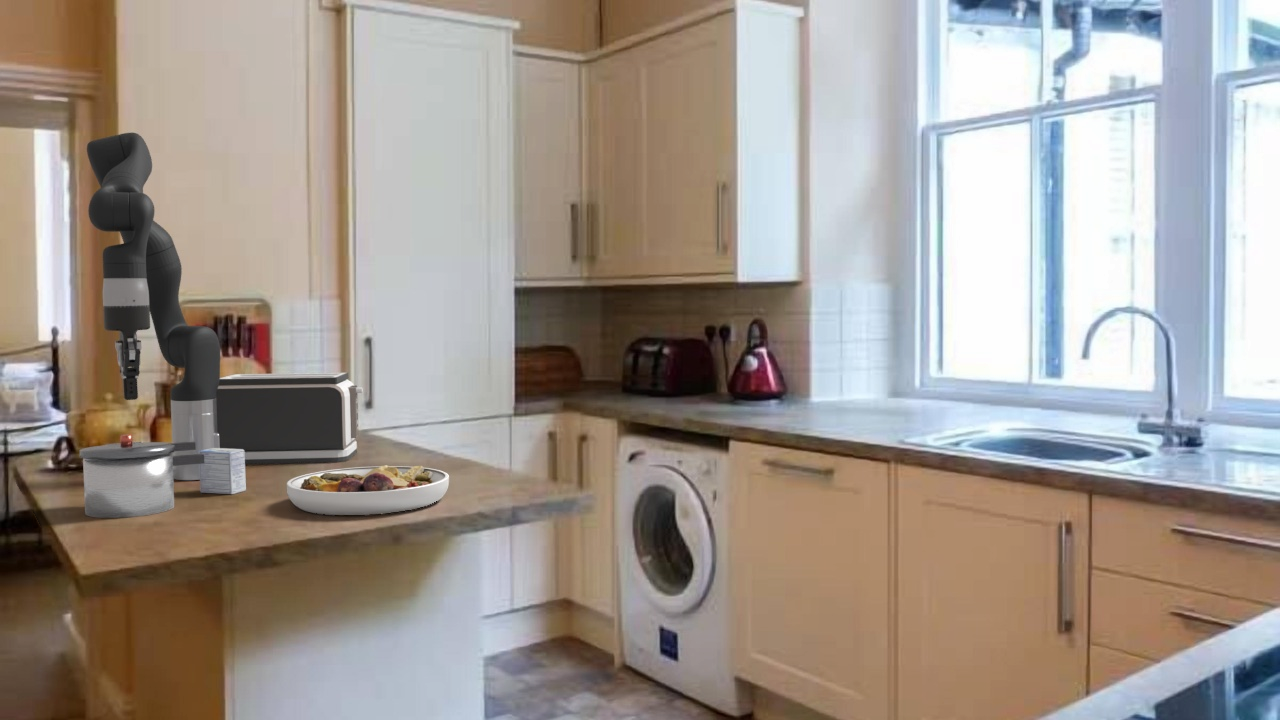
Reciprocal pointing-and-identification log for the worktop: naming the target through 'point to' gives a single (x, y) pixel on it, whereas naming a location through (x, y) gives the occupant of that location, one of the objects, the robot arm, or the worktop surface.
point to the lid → (133, 449)
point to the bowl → (367, 490)
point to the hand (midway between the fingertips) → (130, 399)
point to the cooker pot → (131, 485)
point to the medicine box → (223, 471)
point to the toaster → (288, 417)
